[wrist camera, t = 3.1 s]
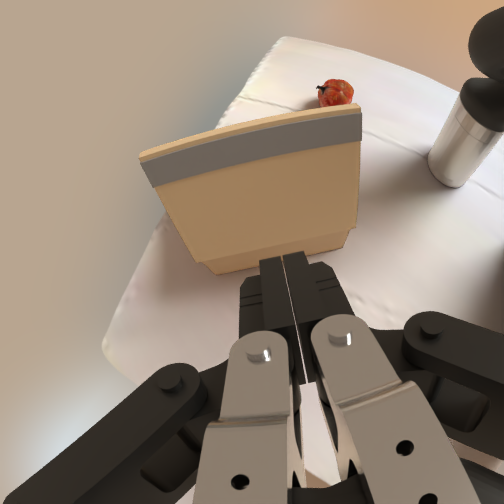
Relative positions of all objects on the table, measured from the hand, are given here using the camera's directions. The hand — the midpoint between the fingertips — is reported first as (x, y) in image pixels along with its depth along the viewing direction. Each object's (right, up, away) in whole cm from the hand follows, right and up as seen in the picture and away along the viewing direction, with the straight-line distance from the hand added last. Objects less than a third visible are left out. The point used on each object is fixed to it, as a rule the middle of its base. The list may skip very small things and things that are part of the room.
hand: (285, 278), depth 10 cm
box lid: (0, +7, +20) cm, 21 cm away
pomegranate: (+16, +30, +44) cm, 55 cm away
